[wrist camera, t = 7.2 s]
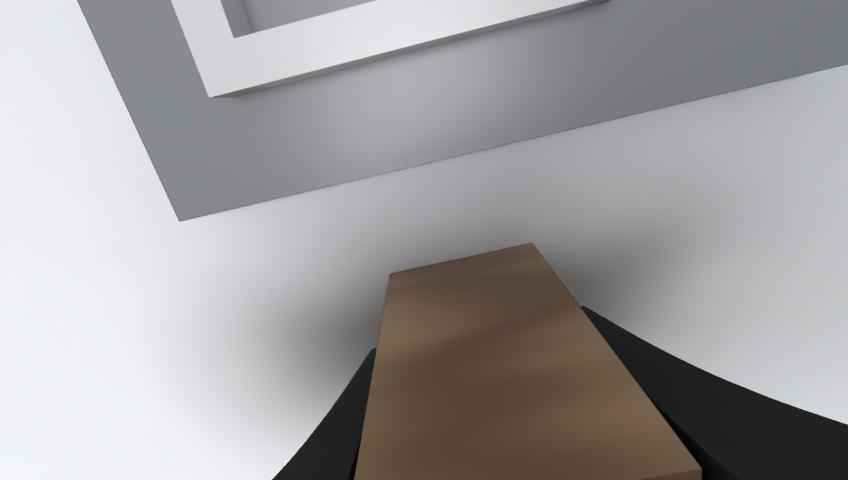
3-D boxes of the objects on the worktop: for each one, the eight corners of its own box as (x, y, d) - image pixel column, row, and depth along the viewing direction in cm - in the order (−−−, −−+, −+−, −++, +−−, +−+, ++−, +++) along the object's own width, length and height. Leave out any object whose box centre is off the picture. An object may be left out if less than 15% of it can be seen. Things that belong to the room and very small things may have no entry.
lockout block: (532, 243, 11) (701, 468, 4) (550, 362, 12) (700, 674, 6) (389, 274, 11) (345, 529, 5) (422, 387, 13) (424, 712, 6)
